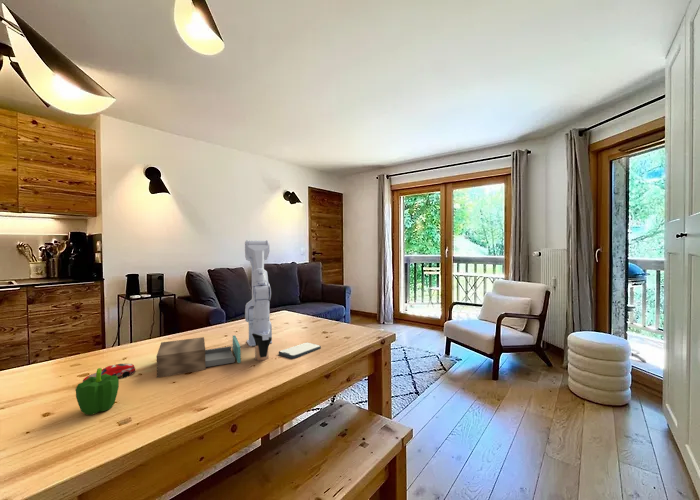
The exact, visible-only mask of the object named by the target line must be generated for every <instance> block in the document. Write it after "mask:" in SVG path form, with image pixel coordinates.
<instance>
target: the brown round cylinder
mask: <svg viewBox="0 0 700 500" xmlns="http://www.w3.org/2000/svg"><path fill="white" fill-rule="evenodd" d="M268 359H269V350H268V351H267V356H266V357H260V354H259V348H258V345H255V346H254V360H255V361H257V362H259V361H261V362H262V361H266V360H268Z"/></svg>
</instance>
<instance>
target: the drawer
mask: <svg viewBox="0 0 700 500" xmlns="http://www.w3.org/2000/svg"><path fill="white" fill-rule="evenodd" d="M238 340H239V339H238V338H237V336H236V335H232V346H224V347H223V346H222V347H217V348H211V349H205V368H208V367H214V366H222V365H227V364H234V363H235V362H237V364H241V362H242V361H241V360H242V356H241V355H242V354H241V353H242V352H241V350H242V349H241V344H240V343H239V341H238ZM235 360H236V361H235Z"/></svg>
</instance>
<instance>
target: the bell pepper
mask: <svg viewBox="0 0 700 500" xmlns="http://www.w3.org/2000/svg"><path fill="white" fill-rule="evenodd" d="M102 369H103V368H101V367H98V368H96V372H95V373H96V377H89V378H88V379H86V380H85V381H84V382H83V381H82V382H80V383H77V386H76V388H75V398H76V401H77V404H78V407H79V409H80V411H81V412H82V413H83V414H84V415H86V416H91V415H95V414H98V413H99V412H105V411H109V410H110V409H112V407H114V405H115V402H116V399H117V395H118V391H119V385H120V383H119V382H120V381H119V379H120V378H119V379H118V377H117V376H111V375H108V374H103V375H101V370H102Z"/></svg>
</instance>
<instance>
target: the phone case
mask: <svg viewBox="0 0 700 500" xmlns="http://www.w3.org/2000/svg"><path fill="white" fill-rule="evenodd" d="M321 346H322V345H320V344H316V343H312V342H304V343H300V344H298V345H294V346H291V347H288V348H284V349H282V350H279V351H278V355H279V356H281V357H284V358H288V359H291V360H295V359H298V358H300V357H302V356H303V357H304V356H305V355H308V354H311V353H313V352H316V351H318V350H321V348H322V347H321Z"/></svg>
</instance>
